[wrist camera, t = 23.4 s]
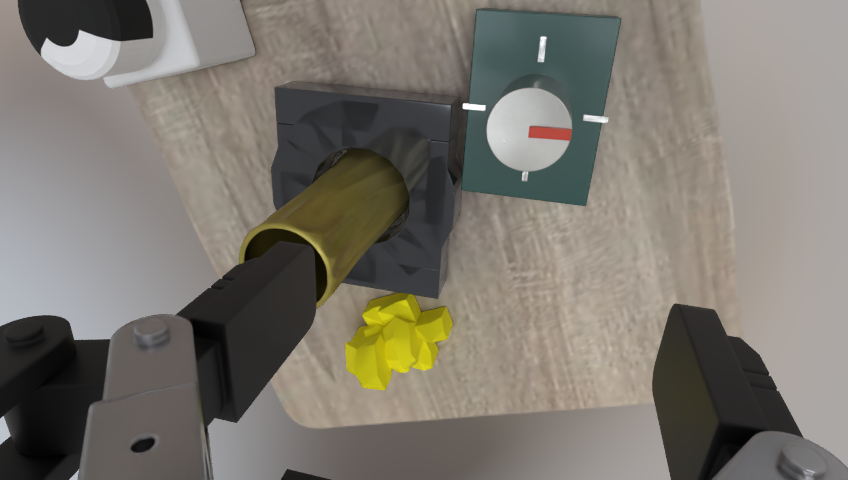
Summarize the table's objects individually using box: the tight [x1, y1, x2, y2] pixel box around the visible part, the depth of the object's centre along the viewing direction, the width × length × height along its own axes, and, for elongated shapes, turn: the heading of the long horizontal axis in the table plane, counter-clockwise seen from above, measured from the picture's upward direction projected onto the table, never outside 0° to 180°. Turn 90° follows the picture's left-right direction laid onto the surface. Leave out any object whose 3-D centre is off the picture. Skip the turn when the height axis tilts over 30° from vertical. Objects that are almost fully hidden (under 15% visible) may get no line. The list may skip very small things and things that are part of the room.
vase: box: [239, 148, 409, 308], centre depth 34 cm, size 6×6×14 cm
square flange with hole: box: [271, 81, 462, 299], centre depth 39 cm, size 14×13×3 cm
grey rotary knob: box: [486, 75, 572, 172], centre depth 30 cm, size 4×4×5 cm
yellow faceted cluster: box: [345, 293, 453, 390], centre depth 41 cm, size 6×8×8 cm
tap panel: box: [461, 8, 621, 206], centre depth 34 cm, size 11×9×3 cm
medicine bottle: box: [18, 0, 256, 88], centre depth 33 cm, size 7×7×12 cm
